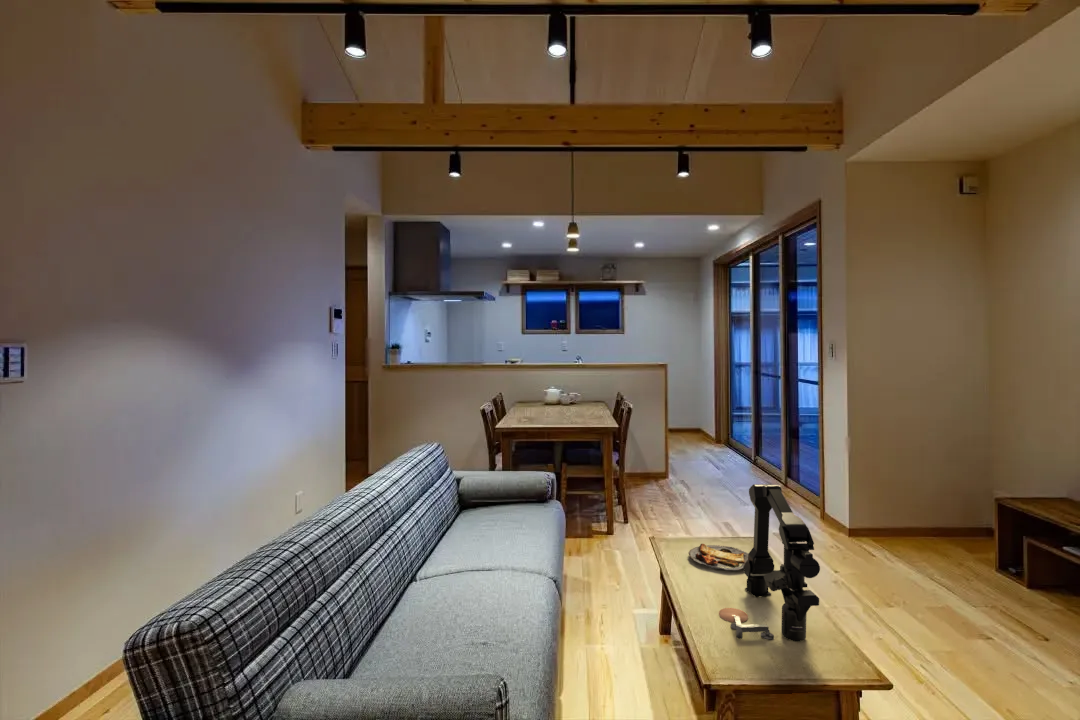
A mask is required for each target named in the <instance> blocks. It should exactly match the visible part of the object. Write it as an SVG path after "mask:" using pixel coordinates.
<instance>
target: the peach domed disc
mask: <svg viewBox="0 0 1080 720" xmlns="http://www.w3.org/2000/svg"><path fill="white" fill-rule="evenodd" d="M718 616H719V617H720V618H721V619H722V620H724V621H726V622H729V623H735V622H734V616H739V618H740V621H741V624H742V623H745V622H747V621H748V620H749V615H748V614H747V612H745V611H744V610H741V609H739V608H734V607H725V608H724V607H723V608H721V609H720V610H719V611H718Z"/></svg>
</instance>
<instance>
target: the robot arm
mask: <svg viewBox="0 0 1080 720" xmlns="http://www.w3.org/2000/svg"><path fill="white" fill-rule="evenodd" d="M748 496H749V499H750V502H751V503H752V505H753V506H754V522H753V525H754V526H753V527H754V528H753V547H752V549H751V550H750V551H748V553H749V554H748V560H747V561H746V563H745V565H744V566H743V568H742V569H743V573H744V575H745V576H746V577H747V579H746V587H745V588H744V590H745V591H746V592H747V593H749V595H752V596H753V597H755V598H758V597H759V598H760V597H761V598H762V597H766V596H771V595H772V593H771V592H777V591H780V592H781V594H782V597H783V601H784V603H786V602H785V600H786V595H787V594H792V598H793V599H791V600H792V601H793V602H794V603H795V607H796V615H797V620H798V621H802V620H803V618H804V616H805V615H806V613H807V614H808V611H809V610H810V608H811V607H813V606H815V607H818V606H820V598H819V597H818V596H817V595H816V594H815V593H814V591H812V590H810V589H804V588H808V583H807V582H805V578H806V579H813V578H815V577H817V576H818V574H820V570H821V566H820V564H819V562H818V560H816V559H815V558H814V556H813V553H812V552H810V551H814V550H815V547H814V545H815V542H814V539H813V536H812V534H811V532H810V529H809V527H808V525H807V524H806V523H805V521H804V520H803V519H802V518H801V517H799V516H797V515H796V514H795V513H794V511H793V510H792V508H791V507H790V505H789V503H788V502H787V499H786V497H785V496H784V494H783V490H782V487H781V485H779V484H771V483H767V484H763V483H762V484H761V483H759V484H757V483H756V484H752V485H751V486H750V487H749V489H748ZM771 510H773V512H774V514H775V516H776V518H777V520H778V523H779V526H778V532H779V537H780V539H781V543H782V545H783V564H781V565H780V566H779V569H776V570H775V564H774V559H773V557H772V556H771V554H770V552H769V540H770V539H769V536H770V535H769V533H770V531H769V530H770V513H771V512H770V511H771ZM805 542H806V543H805ZM769 589H770V591H771V592H770V591H769Z"/></svg>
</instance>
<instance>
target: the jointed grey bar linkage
mask: <svg viewBox="0 0 1080 720" xmlns="http://www.w3.org/2000/svg"><path fill="white" fill-rule="evenodd" d="M734 622H735V623H734ZM734 622H730V628H731V629H732V630H734V631H736V633H735V637H736V639H738V640H743V637H744V635H743V633H760V637H761V638H762V639H764V640H766V641H773V640H774V639H775V636H774V634H773V633H771V631H770V630H769V629H770V628H769V625H768V624H767V623H766V624H765V623H764V624H763V623H761V624H759V623H756V624H753V623H752V624H742V623H741V621H740V618H739V616H734Z"/></svg>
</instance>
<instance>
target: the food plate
mask: <svg viewBox="0 0 1080 720" xmlns="http://www.w3.org/2000/svg"><path fill="white" fill-rule="evenodd" d="M748 554H749V552H747V551H744V550H742V549H739V548H737V547H732V546H726V545H717V544H716V545H715V544H713V545H712V544H708V545H707V544H705V543H700V545H699V546H696V547H695V546H694V547H693V548H692V549H690V550H689V551H688V555H689V559H691V560H692V561H693V562H696V563H697V564H701V565H705V566H706V567H708V568H710V569H712V570H713V569H717V570H718V569H719V570H725V571H738V570H741V569H744V568H743V566H744V565H745V563H746V561H747V560H748ZM740 564H741V565H740Z"/></svg>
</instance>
